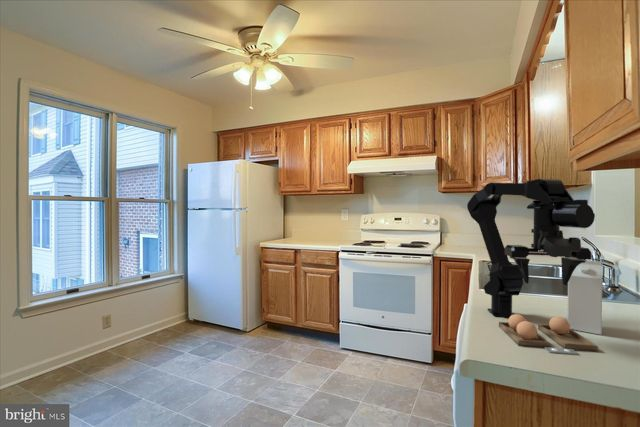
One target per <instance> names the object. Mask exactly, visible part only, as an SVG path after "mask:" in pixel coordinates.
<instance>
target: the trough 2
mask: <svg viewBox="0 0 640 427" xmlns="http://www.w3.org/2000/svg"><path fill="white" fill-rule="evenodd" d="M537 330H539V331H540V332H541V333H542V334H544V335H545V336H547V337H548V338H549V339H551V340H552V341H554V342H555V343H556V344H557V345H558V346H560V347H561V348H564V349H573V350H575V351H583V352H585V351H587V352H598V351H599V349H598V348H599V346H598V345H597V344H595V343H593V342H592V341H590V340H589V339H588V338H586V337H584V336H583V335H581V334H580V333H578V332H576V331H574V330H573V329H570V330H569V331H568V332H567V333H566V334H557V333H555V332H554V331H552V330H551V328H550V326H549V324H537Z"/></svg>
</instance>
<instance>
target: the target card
mask: <svg viewBox="0 0 640 427" xmlns="http://www.w3.org/2000/svg"><path fill="white" fill-rule="evenodd" d="M543 349H544V350H546V351H547V352H548V353H549V354H561V355H562V354H563V355H573V356H579V355H580V353H579V352H577V350H573V349H564V348H563V347H561V348H560V347H551V346H550V347H544V348H543Z"/></svg>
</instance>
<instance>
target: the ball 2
mask: <svg viewBox="0 0 640 427" xmlns="http://www.w3.org/2000/svg"><path fill="white" fill-rule="evenodd" d="M517 333H518V334H519V336H520V337H522V338H523V339H526V340H531V339H534V338H535V337H536V336H537V333H538V327H536V325H535V324H534V323H532V322H530V321H522V322H520V323H519V324H518V325H517Z"/></svg>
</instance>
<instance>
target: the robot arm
mask: <svg viewBox="0 0 640 427" xmlns="http://www.w3.org/2000/svg"><path fill="white" fill-rule="evenodd" d="M491 195H492V197H490V196H491ZM506 195H507V196H522V197H525V198H527V199H530V200H533V201H532V202H531V203H530V204H528V206H526V209H528V210H533V228H531V234H533V236H532V237H533V238H532V239H533V241H532V243H531V244H530V245H531V246H530V247H528V246H525V245H521V244H507V245H506V246H505V245H504V243H503V240H502V236H501V234H500V232H499V229H498V226H497V222H496V217H497V213H498V210H497V207H498V206H499V205H500V203H501V200H502V196H506ZM466 206H467V211H468V213H469V215H470V217H471V219H473V221H475V222H476V223H477V224H478V226H479V229H480V232H481V235H482V238H483V241H484V245H485V248H486V251H487V254H488V257H489V260H490V263H491V267H490V271H489V279H490V280H489V281H488V282H487V283H486V284H485V285H484V286H483V290H484V293H485V294H486V295H489V296H491V298H490V299H491V305H490V306H491V308H487V309H486V310H487V311H488V312H489V313H490V314H491V315H492V316H494V317H504V318H509V317H510V316H511V315H514V314H515V313H514V312H513V296H519V295H520V293H521V290H522V287H523V285H524V283H525V284H529V280H530V277H529V276H530V275H529V263H530V258H527V257H528V256H549V257H552V258H558V257H560V258H561V261H560V262H561V281H562V285H564V286H568V281H569V279H570V277H571V275H572V273H573V271H574V270H575V268H576V267H577V266H578V265H579V264H581V263H585V262H586V261H585V260H588V261H592V259H593V254H592V251H591V250H590V249H589V248H588V247H584V246H582V243H581V242H582V241H581V239H580V238H579V237H575V236H574V237H568V238H565V237H564V232H563V230H560V229H561V228H560V227H562V228H574V229H575V228H578V229H587V228H590V227H591V226H592V225H593V224H594V222H595V218H596V214H595V212H594V211H593V208H592V207H591V206H590V205H589V200H588V199H575V200H574V198H573V197H572V195H571V194H570V193H569V192H568V190H567V189H566V186H565V184H564V182H563V181H562V180H561V179H553V178H552V179H549V178H538V179H531V180H528V181H526V182H521V183H520V182H497V181H495V182H493V181H491V182H488V183H487V184H485V186H484V187H483V188H482V189H480V190H479V191H477V192H475V193H474V194H473V195H472V197H471V198H470V199H469V201H468V202H467V205H466ZM509 258H510V259H511V260H513V261H514V262H515V264H516V265H514V264H513V263H511V262H510V260H509Z"/></svg>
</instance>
